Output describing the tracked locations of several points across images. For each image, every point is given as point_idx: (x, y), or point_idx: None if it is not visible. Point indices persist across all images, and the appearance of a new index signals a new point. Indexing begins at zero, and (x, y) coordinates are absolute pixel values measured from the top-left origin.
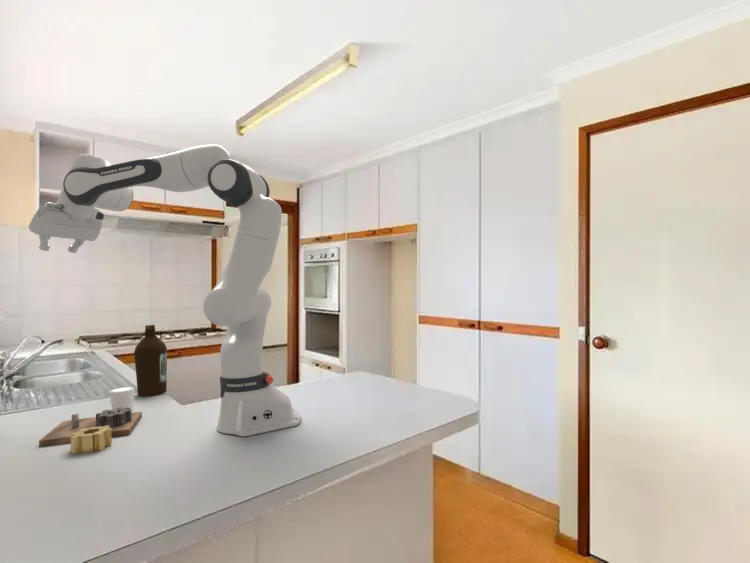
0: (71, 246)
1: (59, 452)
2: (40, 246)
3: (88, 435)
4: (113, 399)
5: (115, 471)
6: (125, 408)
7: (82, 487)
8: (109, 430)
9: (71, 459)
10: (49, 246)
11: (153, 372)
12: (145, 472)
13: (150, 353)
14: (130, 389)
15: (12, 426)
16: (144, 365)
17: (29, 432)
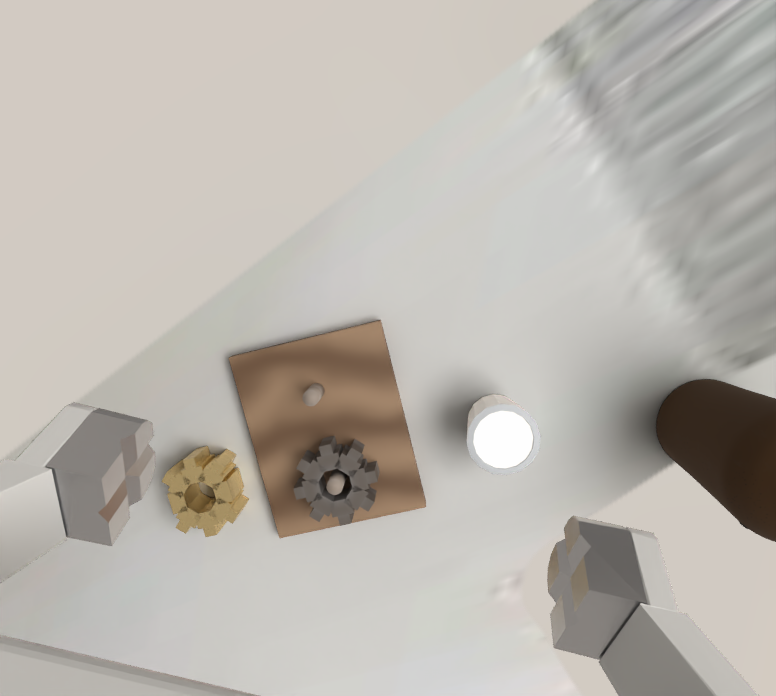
0: (578, 610)
1: (193, 426)
2: (57, 430)
3: (171, 506)
4: (470, 420)
5: (87, 592)
6: (362, 503)
7: (29, 566)
8: (205, 534)
9: None
10: (104, 532)
11: (694, 475)
12: (78, 647)
13: (727, 499)
14: (494, 469)
15: (406, 163)
16: (701, 456)
17: (343, 255)
